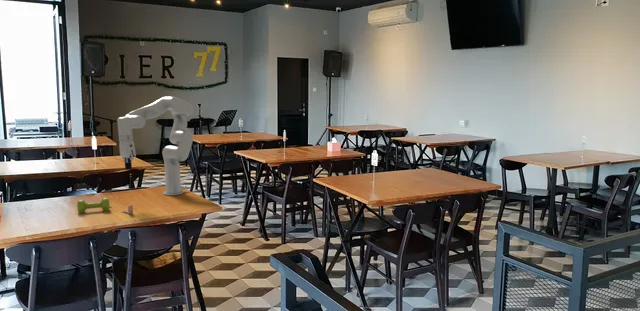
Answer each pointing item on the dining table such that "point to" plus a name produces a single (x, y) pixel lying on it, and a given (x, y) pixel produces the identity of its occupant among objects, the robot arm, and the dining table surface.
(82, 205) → the dumbbell
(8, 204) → the dining table surface
